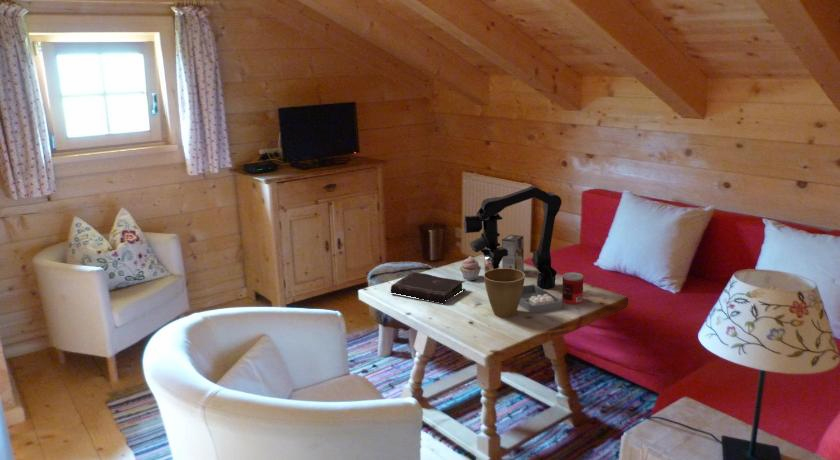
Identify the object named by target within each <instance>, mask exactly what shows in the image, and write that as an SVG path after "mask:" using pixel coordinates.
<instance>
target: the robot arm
mask: <svg viewBox="0 0 840 460" xmlns="http://www.w3.org/2000/svg"><path fill="white" fill-rule="evenodd" d="M534 198H535V199H537V200H539V201H541V202H542V209H543V220H542V225H541V226H542V227H541V232H540V239H539V244H538V245H539V246H538V249H537V250H536V251H532V259H531V262H532V265H533V266H534V267H535V269H536V270H537V271H538V272H539V273H538V274H537V277H536V285H537V286H538V287H540V288H541V289H543V290H551V289H554V288H555V287H556V276H557V273H558V272H557V270H556V269H555V268H554V267H553V266H552V256H551V245H552V239H553V235H554V234H553V233H554V226H555V220H556V217H557V215H558V213H559V212H560V210H561V209H560V208H561V207H562V198H561V197H560V196H559V194H556V193H554V191H553V192H552V191H550V192H549V191H548V192H547V191H544V190H542V189H540V188H538V187H537V186H536V185H531V186H528V187H526V188H524V189H521V190H518V191H514V192H512V193H509V194H507V195H504V196H503V195H502V196H498V197H497V196H495V197H493V196H492V197H488V198H485V199H483V200H482V202H481V204H480V208H479V209H478V210H477V213H476V215H465V216H464V219H463V231H464V233H465V234H473V233H480V232H481V234H480V237H479V238H478V237H477V238H476V239H474V240H472V241H471V242H469V247H470V248H471V251H472V252H474V253H479V252H481V253H482V254H483V257H484V256H485V255H488V256H489V257H491V258H492V264H493V269H497V268H498V266H500V264H501V262H502V258H503V257H504V256H508V250H507V249H505V248H503V247H502V246H501V243H500V242H499V237H500V236H501V235H500V232H499V231H498V230H499V229H498V225H499V224H498V221H502V220H503V217H502V216H501V215H500V213H501V212H502V211H503V210H504V209H506V208H509V207H511V206H514V205H517V204H519V203H522V202H525V201H527V200H528V201H529V200H530V199H531V200H532V199H534ZM482 230H483V232H482ZM489 254H490V255H489Z"/></svg>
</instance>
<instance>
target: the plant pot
mask: <svg viewBox="0 0 840 460" xmlns="http://www.w3.org/2000/svg"><path fill="white" fill-rule="evenodd" d="M525 277H526V273H524V271H520V270H516V269H511V268H502V267H499V268H498V269H493V270H489V271H487V272H486V273H485V272H484V274H483V278H484V279H483V280H484V284H485V290H486V294H487V298H488V300H489V301H488V302H489V303H490V307H491V310H492V312H493V314H494V315H495V317H498V318H499V317H500V318H511V317H514V316H515V315H516V313H517V311H518V307H519V306H520V305H519V302H520V299H521V295H522V291H523V286H525V285H524V284H525Z"/></svg>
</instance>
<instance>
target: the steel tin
mask: <svg viewBox="0 0 840 460" xmlns="http://www.w3.org/2000/svg"><path fill="white" fill-rule="evenodd" d="M489 255H490V254H489ZM483 257H484V258H483V260H484V265H483V266H484V273H486V272H487V271H489V270H493V264H492V258H491V257H489V256H488V255H485V256H484V255H483ZM499 266H500V265H499ZM499 266H498V268H500V267H499ZM498 268H497V269H498Z"/></svg>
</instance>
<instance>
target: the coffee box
mask: <svg viewBox="0 0 840 460" xmlns="http://www.w3.org/2000/svg"><path fill="white" fill-rule="evenodd" d="M524 244H525V243H524V235H519V234H517V235H516V234H509V235H508V236H506V237H504V238H502V239H501V247H503V248H505V249H507V250H508V256H504V257H503V258H502V260H501V262H502V263H501V268H511V269H516V270H520V271H522V272H524V270H525V269H524V267H525V266H524V262H525V261H524V256H525V255H524V254H525V253H524V251H525V250H524Z"/></svg>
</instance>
